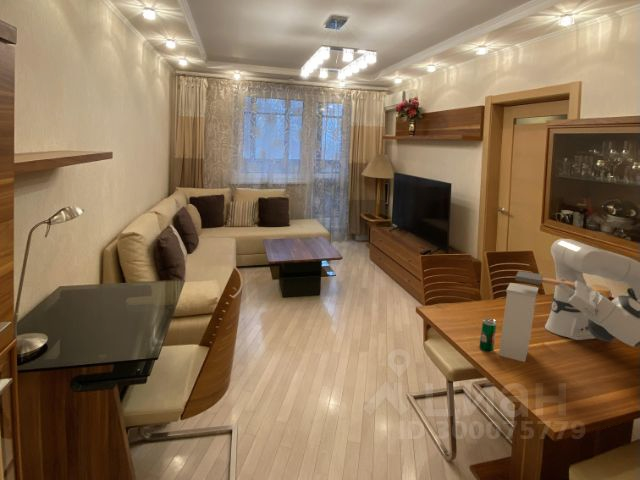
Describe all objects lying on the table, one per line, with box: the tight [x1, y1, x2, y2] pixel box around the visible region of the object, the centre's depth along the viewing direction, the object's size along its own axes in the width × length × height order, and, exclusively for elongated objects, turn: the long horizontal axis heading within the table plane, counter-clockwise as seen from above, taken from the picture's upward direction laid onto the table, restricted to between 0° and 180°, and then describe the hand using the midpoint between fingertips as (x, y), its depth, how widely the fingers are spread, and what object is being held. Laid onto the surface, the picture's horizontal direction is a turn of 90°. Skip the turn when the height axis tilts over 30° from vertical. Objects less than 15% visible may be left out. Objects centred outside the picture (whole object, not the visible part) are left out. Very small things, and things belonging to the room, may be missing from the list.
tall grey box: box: [498, 282, 539, 363], centre depth 156 cm, size 10×10×26 cm
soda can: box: [478, 317, 497, 353], centre depth 161 cm, size 5×5×12 cm
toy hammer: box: [515, 270, 574, 288], centre depth 149 cm, size 18×8×2 cm, turn 59°
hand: (560, 281), depth 146 cm, fingers closed on toy hammer, 3 cm apart
